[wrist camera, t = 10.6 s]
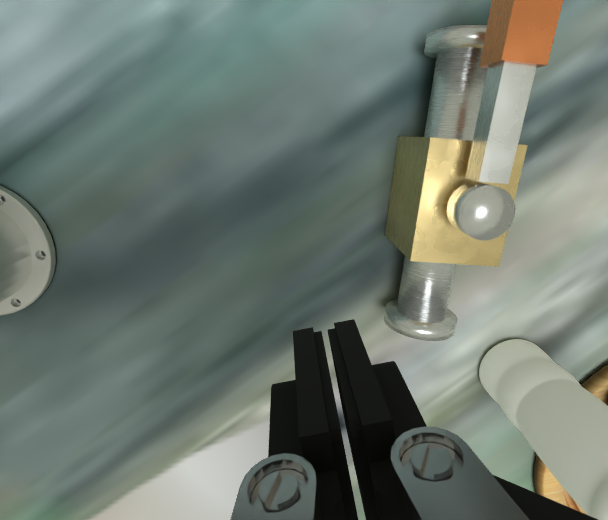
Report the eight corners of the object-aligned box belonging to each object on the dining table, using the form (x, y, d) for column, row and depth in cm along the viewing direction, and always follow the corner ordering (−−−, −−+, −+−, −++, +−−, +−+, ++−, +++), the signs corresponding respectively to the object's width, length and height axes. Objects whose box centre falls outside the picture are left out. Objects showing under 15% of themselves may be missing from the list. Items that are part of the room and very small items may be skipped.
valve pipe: (374, 307, 40) (397, 352, 32) (412, 41, 33) (454, 11, 25) (442, 310, 41) (482, 355, 33) (493, 49, 34) (561, 22, 25)
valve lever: (490, -24, 24) (516, -43, 22) (546, -17, 25) (578, -35, 22) (441, 229, 29) (457, 239, 26) (488, 232, 29) (509, 243, 27)
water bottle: (542, 385, 44) (845, 680, 20) (479, 399, 44) (707, 709, 21) (539, 329, 42) (874, 587, 18) (473, 344, 42) (719, 620, 18)
